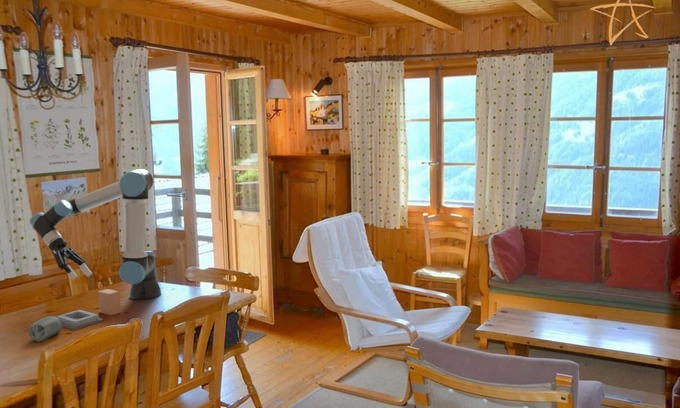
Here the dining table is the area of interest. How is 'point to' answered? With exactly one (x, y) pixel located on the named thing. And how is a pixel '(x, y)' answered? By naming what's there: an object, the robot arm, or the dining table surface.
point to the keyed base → (78, 319)
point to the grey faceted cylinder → (45, 328)
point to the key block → (109, 301)
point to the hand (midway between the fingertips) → (82, 276)
